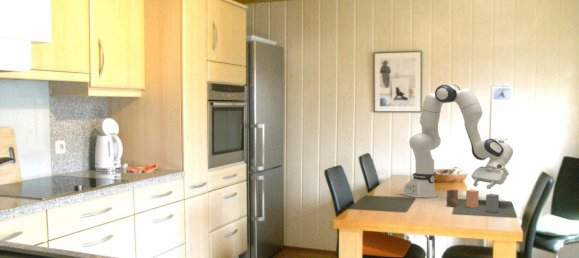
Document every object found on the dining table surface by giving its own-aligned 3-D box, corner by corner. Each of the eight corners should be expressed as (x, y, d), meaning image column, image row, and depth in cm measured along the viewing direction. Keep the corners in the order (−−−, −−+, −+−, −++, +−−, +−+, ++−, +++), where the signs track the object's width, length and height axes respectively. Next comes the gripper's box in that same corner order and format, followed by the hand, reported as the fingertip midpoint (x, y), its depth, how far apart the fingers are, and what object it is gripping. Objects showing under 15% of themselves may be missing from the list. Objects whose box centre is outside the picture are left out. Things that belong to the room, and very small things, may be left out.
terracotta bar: (466, 206, 282) (466, 190, 281) (471, 205, 284) (472, 189, 283) (472, 207, 278) (472, 191, 277) (478, 207, 280) (478, 190, 279)
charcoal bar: (485, 211, 269) (486, 194, 268) (490, 210, 272) (490, 193, 271) (493, 212, 265) (494, 195, 265) (498, 211, 268) (498, 194, 268)
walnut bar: (446, 206, 283) (446, 190, 282) (449, 204, 286) (449, 189, 286) (454, 207, 280) (454, 191, 279) (457, 205, 283) (457, 189, 283)
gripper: (476, 162, 295) (464, 180, 291) (506, 166, 277) (493, 185, 273) (482, 169, 298) (469, 187, 294) (511, 174, 279) (498, 193, 275)
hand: (481, 186), depth 283 cm, fingers open, 8 cm apart
